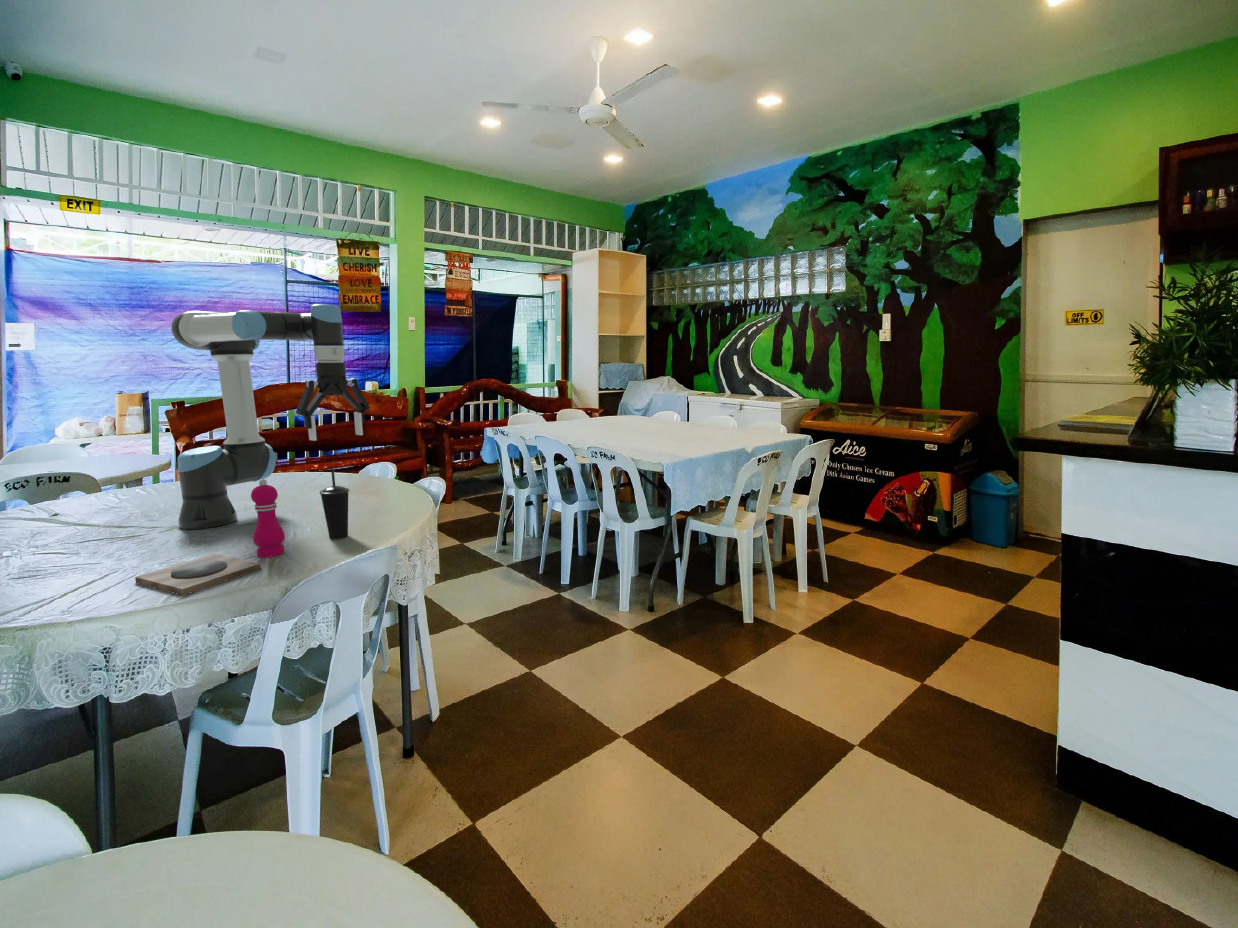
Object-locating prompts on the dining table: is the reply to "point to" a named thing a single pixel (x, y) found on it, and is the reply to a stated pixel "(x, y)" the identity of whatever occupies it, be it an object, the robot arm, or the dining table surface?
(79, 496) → the dining table surface
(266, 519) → the pepper mill
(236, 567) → the mount board
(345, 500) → the drinking cup
